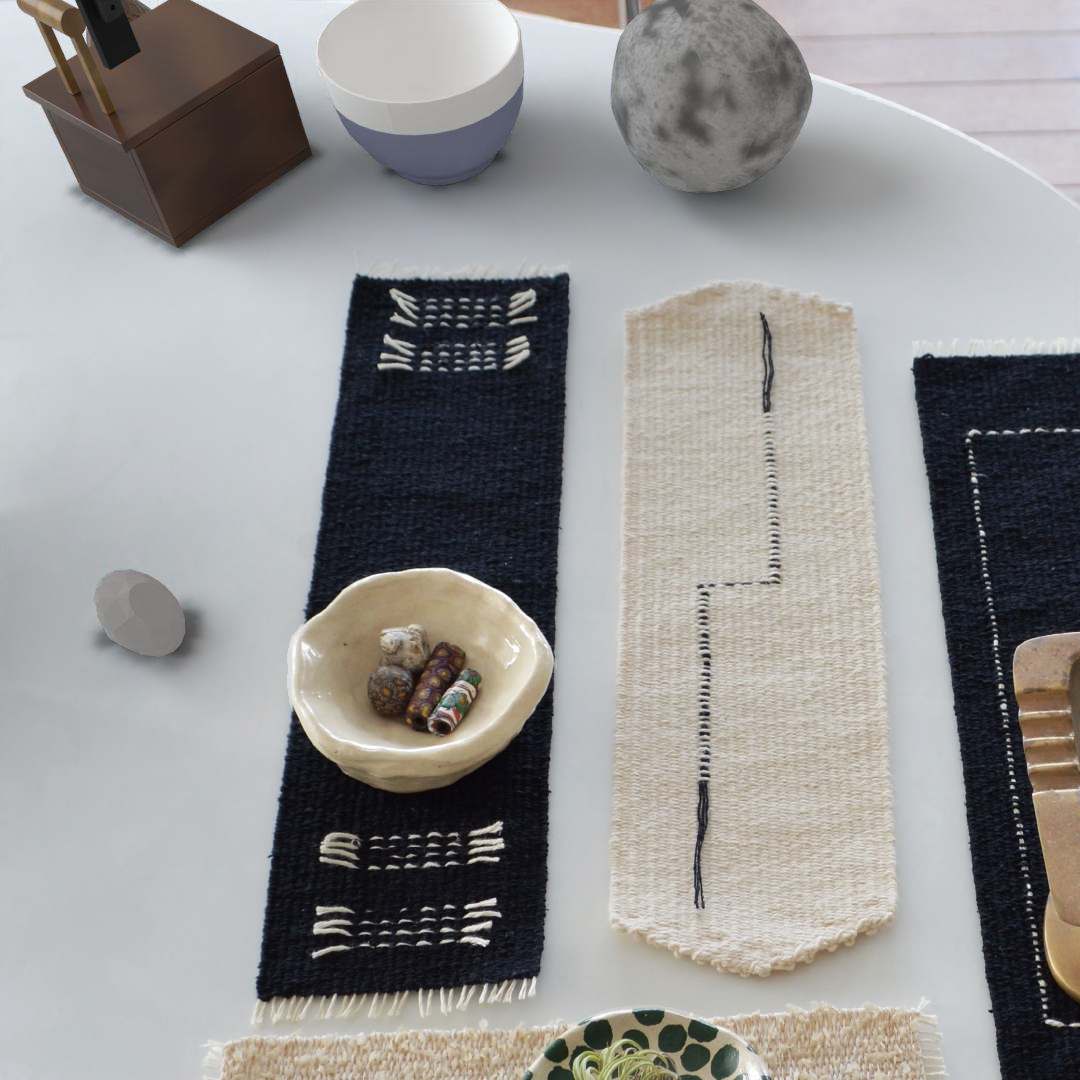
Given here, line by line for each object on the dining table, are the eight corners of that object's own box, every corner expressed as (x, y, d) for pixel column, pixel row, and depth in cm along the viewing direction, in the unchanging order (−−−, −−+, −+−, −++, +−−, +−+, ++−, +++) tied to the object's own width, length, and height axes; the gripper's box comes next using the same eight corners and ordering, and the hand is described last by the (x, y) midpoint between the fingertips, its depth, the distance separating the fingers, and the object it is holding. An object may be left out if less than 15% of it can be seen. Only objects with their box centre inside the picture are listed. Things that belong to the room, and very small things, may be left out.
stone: (653, 109, 123) (638, -70, 110) (830, 139, 120) (835, -40, 108) (595, 219, 115) (572, 40, 102) (782, 254, 113) (782, 75, 100)
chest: (177, 248, 114) (134, 148, 106) (82, 191, 117) (34, 91, 110) (313, 154, 120) (281, 54, 112) (218, 103, 123) (182, 3, 116)
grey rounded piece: (61, 584, 93) (103, 548, 90) (151, 610, 97) (193, 577, 95) (63, 668, 90) (105, 633, 88) (155, 691, 95) (198, 658, 92)
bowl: (559, 102, 123) (544, -8, 115) (509, 222, 115) (488, 113, 107) (381, 83, 125) (353, -27, 117) (319, 201, 117) (284, 91, 108)
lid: (125, 153, 106) (75, 38, 98) (25, 96, 110) (-31, -19, 102) (281, 53, 112) (245, -61, 105) (181, 2, 116) (140, -112, 108)
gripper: (91, -289, 82) (218, 61, 100) (-167, -399, 90) (-7, -57, 108) (-17, -236, 79) (133, 115, 97) (-275, -355, 87) (-91, -10, 105)
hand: (60, 25), depth 103 cm, fingers open, 13 cm apart
